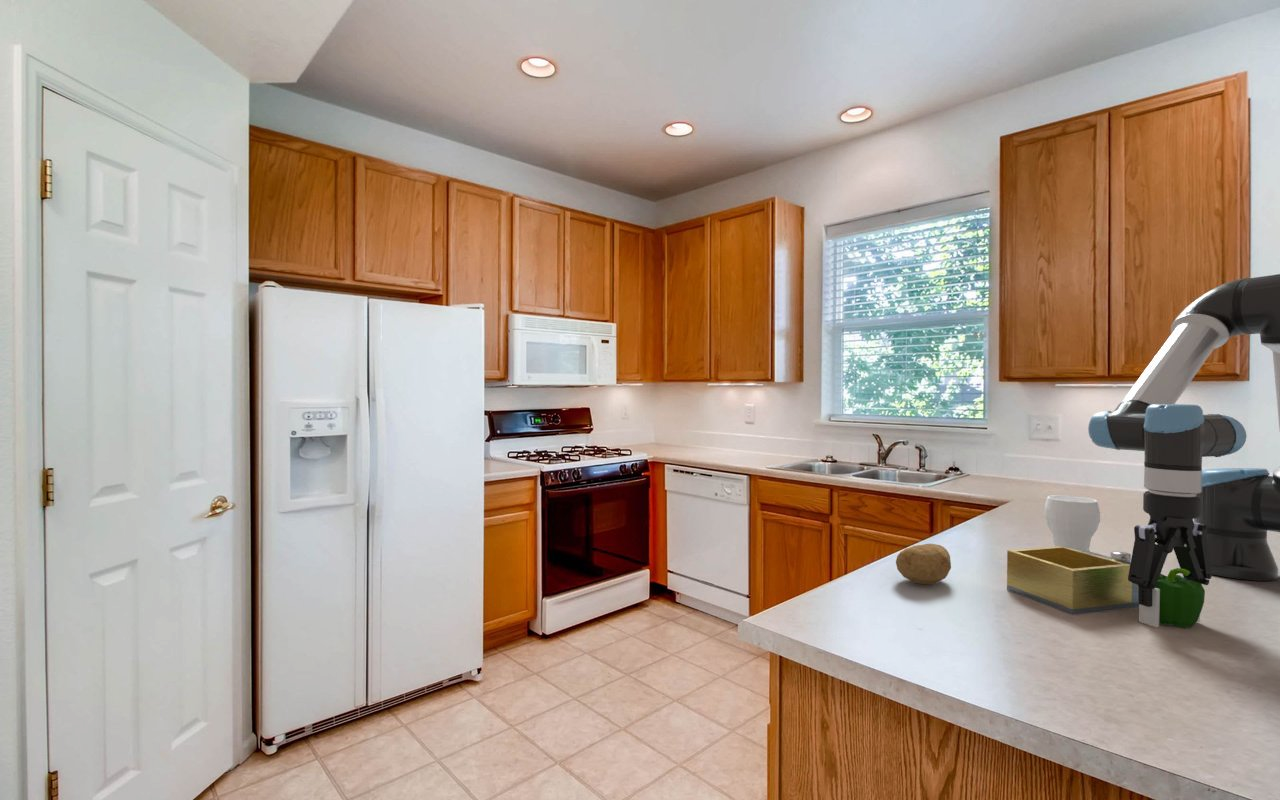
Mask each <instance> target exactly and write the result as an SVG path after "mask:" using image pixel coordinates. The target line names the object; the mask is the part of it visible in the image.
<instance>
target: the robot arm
mask: <svg viewBox="0 0 1280 800" xmlns="http://www.w3.org/2000/svg"><path fill="white" fill-rule="evenodd" d="M1256 334H1258V335H1259V337H1260V344H1261V345H1262V346H1264V347H1266V348H1268V349H1269V350H1270V351H1272V362H1273V369H1274V370H1273V372H1274V383H1275V384H1274V385H1275V394H1276V404H1277V407H1276V408H1277V417H1278V428H1279V431H1280V273H1279V274H1271V275H1264V276H1257V277H1250V278H1249V277H1246V278H1239V279H1235V280H1231V281H1228V282H1225V283H1223V284H1221V285H1219V286H1216V287H1214V288H1212V289H1210V290H1209V291H1206V292H1205V293H1203V294H1202V295H1200V296H1199V297H1197V298H1196V299H1195V300H1193V301H1192V302H1191V303H1190V304H1188V305H1187V306H1186V307H1185V308H1183V310H1181V312H1180V313H1179V314H1178V315H1177V316H1176V318H1175V319H1174V321H1173V322H1172V324H1171V326H1170V335H1169V336H1168V338H1167V339H1166V341H1165V342H1164V343H1163V345H1161V347H1160V348H1159V350H1158V352H1157V353H1156V354H1155V355H1154V357H1153V358H1152V360H1151V361H1150V362H1149V364H1148V365H1147V366H1146V367H1145V369H1144V370H1143V372H1142V373H1141V375H1139V378H1138V379H1137V380H1136V381H1135V382H1134V384H1133V385H1132V387H1131V388H1130V390H1129V391H1128V392H1127V393H1126V395H1125V396H1124V398H1122V400H1121V401H1120V403H1119V404H1118V405H1117V407H1115V409H1114V410H1113V411H1111V410H1106V411H1099V412H1097V413H1095V414H1093V415H1092V416H1091V418H1090V419H1089V422H1088V428H1087V429H1088V435H1089V438H1090V439H1091V442H1092V443H1093V444H1094V445H1096V446H1097V447H1101V448H1106V449H1110V450H1111V449H1114V450H1116V451H1117V450H1118V451H1120V450H1121V451H1137V452H1138V451H1139V452H1144V462H1143V463H1144V465H1143V467H1144V469H1143V471H1144V475H1143V487H1144V488H1145V489H1146V491H1145V492H1144V493H1143V495H1142V496H1143V498H1142V500H1143V502H1142V505H1143V506H1142V508H1143V509H1142V510H1143V511H1144V513H1146V514H1148V515H1149V520H1148V523H1147V525H1144V526H1143V525H1137V524H1136V525H1134V527H1133V529H1134V541H1133V542H1134V543H1133V547H1132V554H1131V561H1130V563H1131V564H1130V569H1129V575H1128V581H1130V582H1132V583H1134V584H1137V585H1138V587H1139V596H1138V602H1139V607H1138V621H1139V622H1140V623H1142V624H1145V625H1148V626H1151V627H1153V628H1159V627H1160V623H1159V606H1160V589H1158V588H1155V587H1156V584H1157V582H1158V579H1159V576H1160V574H1162V571H1163V568H1164V565H1165V562H1166V560H1167V558H1168V557H1167V556H1168V555H1169V554H1170V553H1172V552H1173V551H1174V553H1175V554H1174V555H1175V557H1176V560H1177V563H1178V565H1179V568H1181V569H1186V570H1188V571H1190V574H1189V575H1188V576H1185V575H1184V574H1182V575H1183V576H1182V577H1183V578H1185V579H1186V580H1192V581H1195V582H1198V583H1201V584H1202V585H1204V586H1208V585H1209V584H1210V580H1211V579H1212V577H1213V575H1214V576H1219V577H1223V578H1224V577H1225V578H1231V579H1237V580H1246V581H1259V582H1260V581H1261V582H1262V581H1266V582H1267V581H1276V580H1278V579H1279V567H1278V565H1277V562H1276V560H1275V558H1274V556H1273V552H1272V551H1271V548H1270V546H1269V544H1268V539H1267V538H1268V535H1267V534H1268V531H1269V532H1275V533H1280V466H1278V467H1276V468H1275V469H1274V470H1273V471H1272V476H1271V474H1270V472H1269V469H1267V468H1262V467H1259V468H1258V467H1239V468H1238V467H1237V468H1235V467H1232V468H1231V467H1229V468H1208V469H1207V468H1205V469H1202V467H1203V457H1204V458H1205V457H1207V458H1208V457H1213V458H1214V457H1215V458H1221V457H1225V456H1227V455H1228V456H1229V455H1232V454H1235V453H1237V452H1238V451H1239V450H1241V449H1242V448H1243V447H1244V446H1245V443H1246V441H1247V431H1246V429H1245V427H1244V425H1243V424H1242V423H1241V422H1240V421H1239V420H1237V419H1236V418H1234V417H1232V416H1228V415H1224V414H1219V413H1216V414H1214V413H1208V414H1204V411H1203V409H1202V407H1201V406H1200V405H1198V404H1184V403H1183V404H1182V403H1181V404H1177V402H1178V400H1179V398H1180V397H1181V395H1183V393H1184V391H1185V390H1186V389H1187V387H1188V386H1189V384H1190V383H1191V382H1192V381H1193V379H1194V377H1195V376H1196V375H1197V373H1198V372H1199V370H1200V369H1201V368H1202V366H1203V365H1204V363H1205V362H1206V361H1207V359H1208V358H1209V356H1211V354H1212V353H1213V352H1214V350H1215V349H1218V348H1220V347H1222V346H1224V345H1225V344H1226V343H1227V342H1228V340H1229V339H1231V338H1233V337H1236V336H1241V335H1256ZM1200 617H1201V615H1200V616H1199V618H1198V620H1197V622H1196V623H1200V621H1201V619H1200Z"/></svg>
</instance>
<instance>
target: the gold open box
mask: <svg viewBox="0 0 1280 800" xmlns="http://www.w3.org/2000/svg"><path fill="white" fill-rule="evenodd" d="M1006 551H1007V552H1006V553H1007V555H1006V557H1007V558H1006V559H1007V560H1006V590H1007V591H1009V592H1013V593H1014V594H1018V595H1020V596H1021V597H1024V598H1025V597H1026V598H1028V599H1029V600H1033V601H1035V602H1038V603H1040V604H1043V605H1047V606H1049V607H1051V608H1054V609H1057V610H1060V611H1062V612H1064V613H1066V614H1069V615H1082V614H1091V613H1099V612H1109V611H1115V610H1124V609H1126V610H1127V609H1132V608H1134V609H1135V608H1139V602H1138V596H1139V587H1138V585H1137V584H1134V583H1132V582H1130V581H1128V575H1129V569H1130V564H1131V558H1132V554H1131V553H1128V552H1124V551H1120V550H1111V551H1110V556H1108V555H1103V554H1101V553H1097V552H1093V551H1092V552H1091V551H1090V550H1089V551H1090V552H1089V551H1086V550H1082V549H1077V550H1075V549H1071V548H1068V547H1064V546H1056V547H1054V546H1046V547H1034V548H1023V549H1022V548H1021V549H1010V550H1009V549H1008V550H1006Z"/></svg>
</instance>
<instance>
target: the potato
mask: <svg viewBox="0 0 1280 800" xmlns="http://www.w3.org/2000/svg"><path fill="white" fill-rule="evenodd" d="M895 565H896V568H897V571H898V573H900V574H901V576H902V577H903V578H905V579H906V580H909V581H910V582H911V583H916V584H921V585H927V586H928V585H930V586H931V585H935V584H937V583H938V582H940V581H943V580H944V579H946V578H947V576H948V574H949V573H950V571H951V569H952V563H951V555H950V553H949V551H948V549H947V548H946V547H944V546H943V545H940V544H935V543H925V544H924V543H923V544H918V545H917V544H916V545H913V546H910V547H907V548H905V549H902V551H900V552H899V553H898V555H897V556H896V560H895Z"/></svg>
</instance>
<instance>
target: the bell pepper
mask: <svg viewBox="0 0 1280 800" xmlns="http://www.w3.org/2000/svg"><path fill="white" fill-rule="evenodd" d="M1179 574H1180V575H1179ZM1181 574H1182V575H1183V574H1184V575H1185V576H1188V575H1189V574H1190V571H1188V570H1186V569H1181V568H1180V567H1176V568H1173V569H1170V570H1169V572H1168V573H1167V575H1164V574H1163V573H1161V574H1160V576H1159V579H1158V582H1157V584H1156V587H1155V588H1158V589H1160V606H1159V625H1166V626H1167V625H1168V626H1175V627H1180V628H1192V627H1194V626H1195V625H1196V624H1197V623H1198V622H1197V620H1198V618H1199V616H1200V617H1201V613H1202V609H1203V606H1204V604H1205V594H1206V593H1205V592H1206V591H1205V588H1204V586H1203V584H1201V583H1198V582H1195V581H1192V580H1186V579H1185V578H1184V577H1183V576H1181Z"/></svg>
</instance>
